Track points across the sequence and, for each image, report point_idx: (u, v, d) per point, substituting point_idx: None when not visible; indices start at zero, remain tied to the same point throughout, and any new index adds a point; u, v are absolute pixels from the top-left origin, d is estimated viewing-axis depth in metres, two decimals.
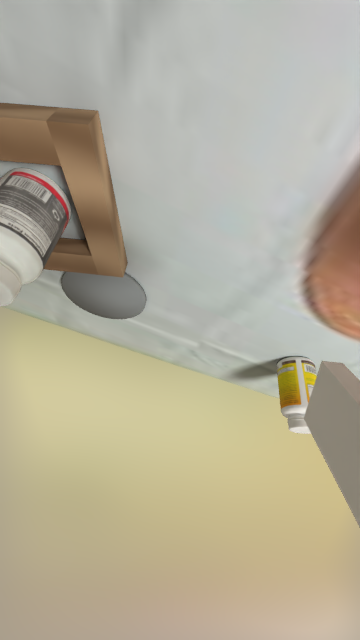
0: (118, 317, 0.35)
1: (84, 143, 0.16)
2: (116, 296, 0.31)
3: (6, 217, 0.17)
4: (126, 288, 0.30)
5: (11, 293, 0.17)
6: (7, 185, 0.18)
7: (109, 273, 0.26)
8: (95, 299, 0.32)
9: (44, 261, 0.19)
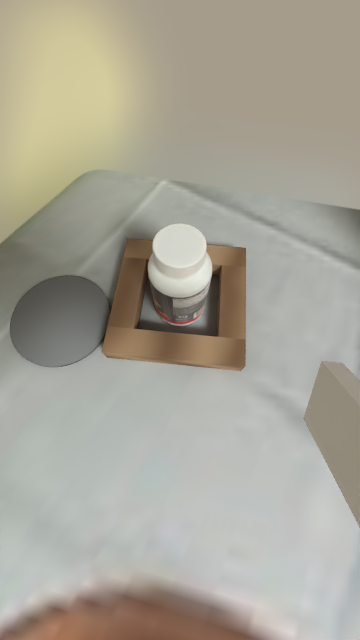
0: (14, 321, 0.26)
1: (234, 359, 0.23)
2: (57, 331, 0.26)
3: (206, 289, 0.22)
4: (71, 347, 0.25)
5: (172, 266, 0.18)
6: None
7: (108, 338, 0.24)
8: (55, 305, 0.27)
9: (167, 297, 0.21)
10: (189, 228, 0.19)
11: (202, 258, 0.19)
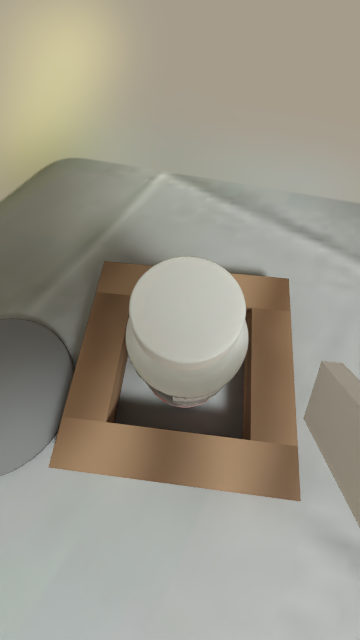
0: None
1: (279, 486, 0.13)
2: None
3: None
4: (4, 446, 0.15)
5: (171, 359, 0.08)
6: None
7: (62, 441, 0.14)
8: None
9: (161, 392, 0.11)
10: (208, 267, 0.09)
11: (237, 337, 0.09)
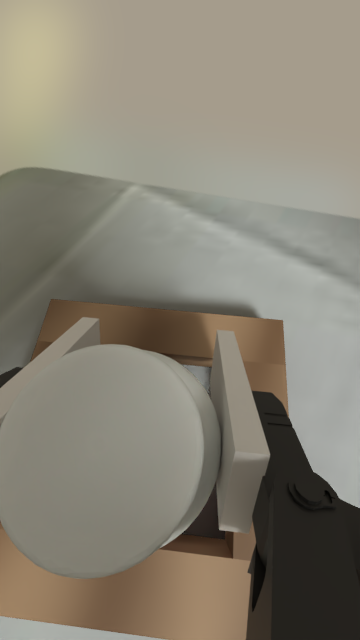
0: None
1: None
2: None
3: None
4: None
5: (54, 573, 0.04)
6: None
7: None
8: None
9: None
10: (143, 367, 0.05)
11: (187, 508, 0.05)
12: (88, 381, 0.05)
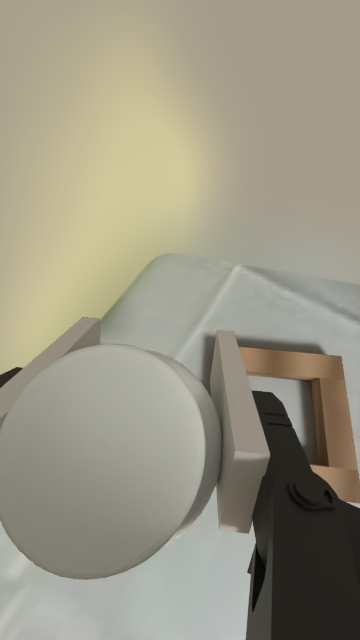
0: None
1: (349, 495, 0.23)
2: None
3: None
4: None
5: (56, 573, 0.04)
6: None
7: None
8: None
9: None
10: (144, 367, 0.05)
11: None
12: (89, 381, 0.05)
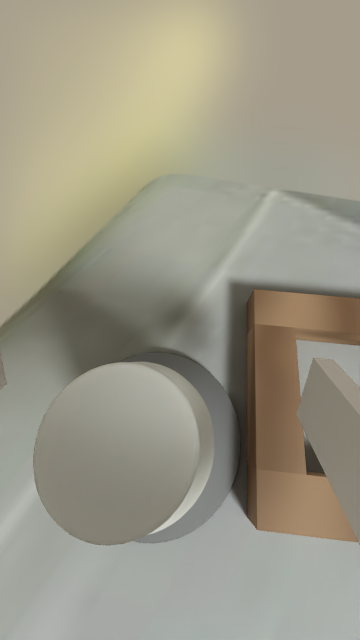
0: None
1: None
2: None
3: None
4: None
5: (85, 541, 0.05)
6: None
7: (265, 498, 0.13)
8: None
9: None
10: (151, 381, 0.07)
11: None
12: (107, 393, 0.07)
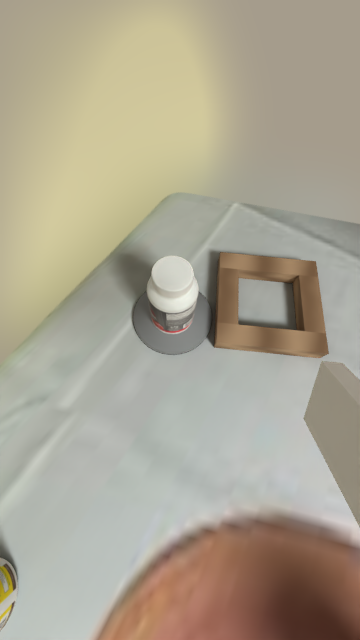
0: (136, 318, 0.33)
1: (319, 348, 0.30)
2: None
3: (194, 305, 0.27)
4: (185, 339, 0.32)
5: (166, 290, 0.24)
6: None
7: (220, 331, 0.31)
8: None
9: (162, 312, 0.26)
10: (180, 259, 0.25)
11: (190, 284, 0.24)
12: (169, 262, 0.25)
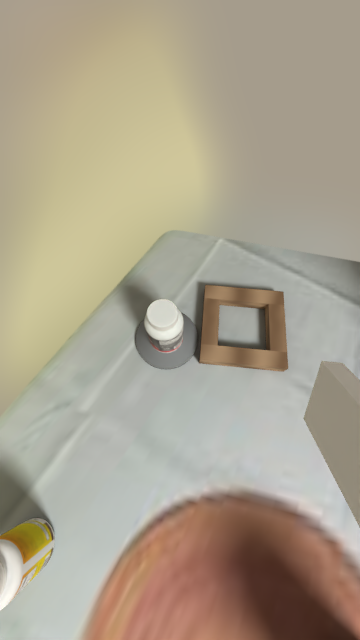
0: (138, 340, 0.42)
1: (280, 364, 0.39)
2: None
3: (180, 334, 0.36)
4: (176, 356, 0.41)
5: (157, 326, 0.32)
6: None
7: (203, 351, 0.39)
8: None
9: (155, 339, 0.35)
10: (168, 302, 0.33)
11: (175, 321, 0.33)
12: (159, 304, 0.33)
